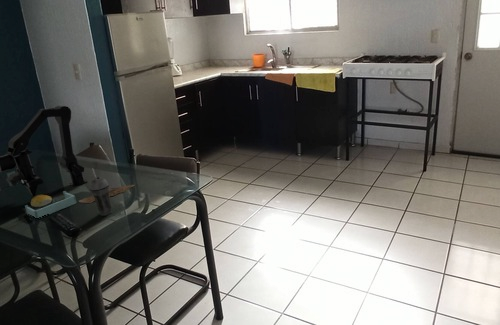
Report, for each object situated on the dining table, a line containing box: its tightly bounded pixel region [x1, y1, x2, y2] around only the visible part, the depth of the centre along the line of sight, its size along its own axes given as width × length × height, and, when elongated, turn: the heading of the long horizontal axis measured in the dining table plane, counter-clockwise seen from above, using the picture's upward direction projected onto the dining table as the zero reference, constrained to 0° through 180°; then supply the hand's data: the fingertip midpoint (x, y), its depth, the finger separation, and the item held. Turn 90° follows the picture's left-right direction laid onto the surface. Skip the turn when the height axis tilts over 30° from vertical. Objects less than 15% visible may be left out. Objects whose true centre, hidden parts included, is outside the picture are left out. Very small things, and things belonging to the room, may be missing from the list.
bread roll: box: [30, 194, 53, 208], centre depth 186 cm, size 8×9×4 cm
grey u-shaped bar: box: [24, 190, 78, 219], centre depth 178 cm, size 10×18×4 cm, turn 138°
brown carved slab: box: [77, 184, 135, 204], centre depth 188 cm, size 26×11×1 cm, turn 121°
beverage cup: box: [89, 167, 112, 217], centre depth 164 cm, size 7×7×20 cm
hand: (33, 196), depth 191 cm, fingers closed
